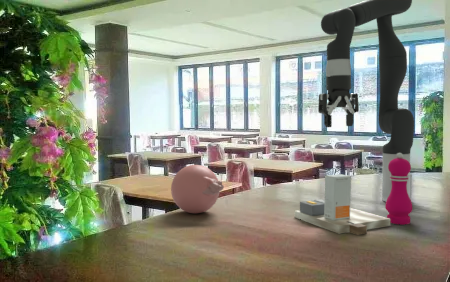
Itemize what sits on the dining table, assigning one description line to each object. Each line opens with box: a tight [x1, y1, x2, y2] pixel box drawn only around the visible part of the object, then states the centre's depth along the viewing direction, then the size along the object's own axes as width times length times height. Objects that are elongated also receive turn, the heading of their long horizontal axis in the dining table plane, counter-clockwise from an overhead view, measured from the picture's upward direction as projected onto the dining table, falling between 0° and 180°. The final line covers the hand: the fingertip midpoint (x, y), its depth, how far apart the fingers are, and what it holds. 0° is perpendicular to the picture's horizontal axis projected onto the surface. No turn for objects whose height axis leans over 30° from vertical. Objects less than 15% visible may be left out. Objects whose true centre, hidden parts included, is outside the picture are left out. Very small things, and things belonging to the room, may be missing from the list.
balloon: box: [170, 164, 224, 214], centre depth 132 cm, size 15×20×15 cm
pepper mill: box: [384, 153, 414, 226], centre depth 120 cm, size 7×7×20 cm
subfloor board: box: [294, 207, 391, 236], centre depth 120 cm, size 18×23×2 cm
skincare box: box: [324, 173, 352, 220], centre depth 117 cm, size 6×4×12 cm
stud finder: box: [299, 198, 325, 216], centre depth 124 cm, size 8×6×3 cm
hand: (339, 126), depth 132 cm, fingers open, 8 cm apart
